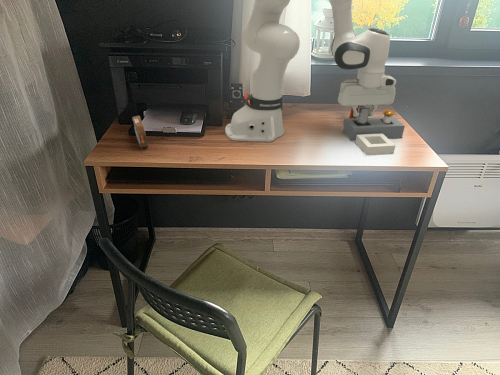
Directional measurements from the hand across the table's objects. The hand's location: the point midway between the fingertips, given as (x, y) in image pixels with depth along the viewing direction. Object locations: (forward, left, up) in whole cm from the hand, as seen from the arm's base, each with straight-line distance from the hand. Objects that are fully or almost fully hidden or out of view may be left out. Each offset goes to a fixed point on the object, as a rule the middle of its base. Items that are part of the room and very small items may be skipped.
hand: (362, 116), depth 140 cm
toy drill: (+1, +14, -8) cm, 16 cm away
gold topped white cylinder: (+10, 0, -8) cm, 13 cm away
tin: (-81, +3, -8) cm, 81 cm away
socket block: (+5, 0, -8) cm, 9 cm away
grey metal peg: (0, 0, -8) cm, 8 cm away
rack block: (+1, -11, -8) cm, 13 cm away
